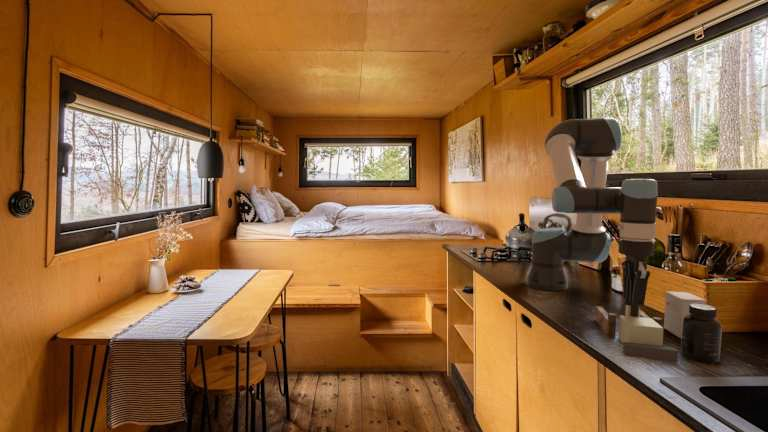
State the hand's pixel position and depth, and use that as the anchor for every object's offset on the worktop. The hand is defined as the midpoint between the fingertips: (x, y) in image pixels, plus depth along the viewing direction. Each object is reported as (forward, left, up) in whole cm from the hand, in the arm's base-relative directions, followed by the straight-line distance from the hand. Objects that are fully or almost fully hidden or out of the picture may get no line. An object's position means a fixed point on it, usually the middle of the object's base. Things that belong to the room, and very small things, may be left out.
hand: (631, 329), depth 96 cm
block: (+5, 0, -2) cm, 6 cm away
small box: (-7, +14, -2) cm, 16 cm away
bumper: (+12, 0, -2) cm, 12 cm away
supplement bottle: (+9, +11, -2) cm, 14 cm away
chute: (-5, 0, -2) cm, 5 cm away
